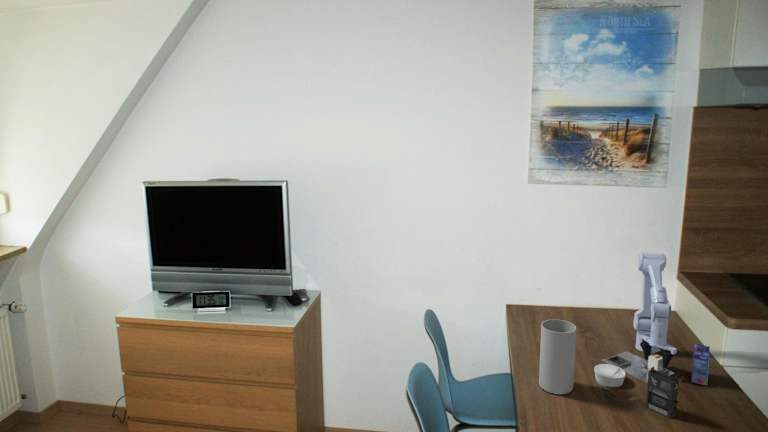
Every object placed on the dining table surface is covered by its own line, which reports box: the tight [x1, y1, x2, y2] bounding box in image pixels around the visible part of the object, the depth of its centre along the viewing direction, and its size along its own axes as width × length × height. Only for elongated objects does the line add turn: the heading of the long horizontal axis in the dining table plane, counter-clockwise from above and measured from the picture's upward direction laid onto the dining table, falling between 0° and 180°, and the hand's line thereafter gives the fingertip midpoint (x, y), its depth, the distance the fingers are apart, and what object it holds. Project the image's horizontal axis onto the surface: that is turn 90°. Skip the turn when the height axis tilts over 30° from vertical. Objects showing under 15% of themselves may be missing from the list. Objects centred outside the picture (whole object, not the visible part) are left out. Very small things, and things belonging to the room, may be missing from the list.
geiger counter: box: [645, 367, 680, 419], centre depth 179 cm, size 10×4×15 cm, turn 35°
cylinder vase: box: [538, 318, 577, 395], centre depth 195 cm, size 12×12×25 cm
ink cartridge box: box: [691, 341, 711, 386], centre depth 200 cm, size 10×6×14 cm, turn 148°
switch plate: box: [601, 351, 676, 384], centre depth 210 cm, size 16×22×2 cm
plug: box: [647, 353, 663, 372], centre depth 205 cm, size 4×4×7 cm
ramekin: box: [593, 363, 627, 389], centre depth 199 cm, size 11×11×5 cm
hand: (656, 363), depth 206 cm, fingers open, 7 cm apart
